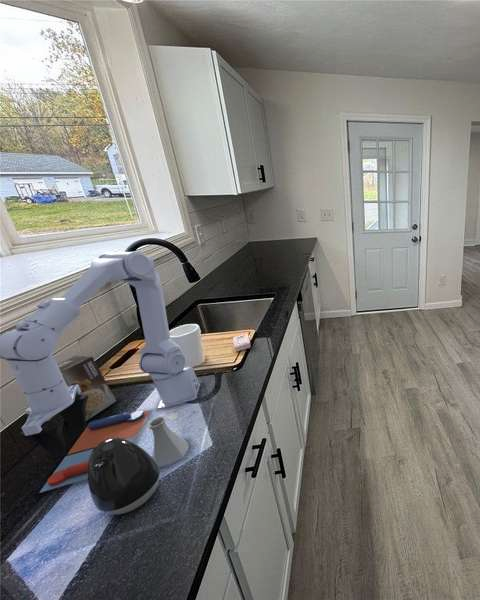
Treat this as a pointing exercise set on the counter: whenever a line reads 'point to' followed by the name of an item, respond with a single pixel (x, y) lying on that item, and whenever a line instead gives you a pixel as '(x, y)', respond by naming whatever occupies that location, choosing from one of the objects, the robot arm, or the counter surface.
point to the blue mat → (72, 461)
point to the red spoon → (67, 473)
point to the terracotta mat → (107, 434)
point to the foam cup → (189, 343)
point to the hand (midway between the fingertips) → (69, 439)
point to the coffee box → (87, 383)
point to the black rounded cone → (121, 476)
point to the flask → (166, 443)
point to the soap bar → (241, 342)
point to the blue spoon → (116, 419)
